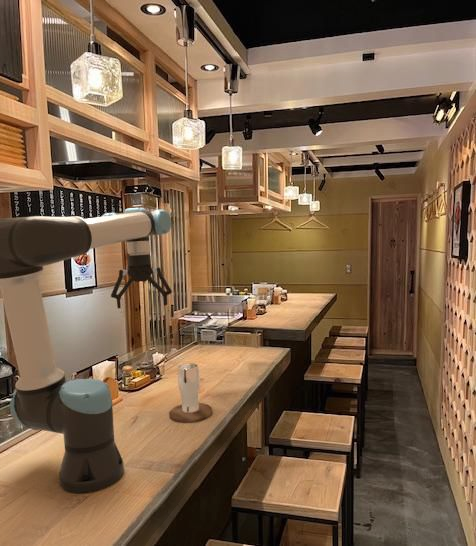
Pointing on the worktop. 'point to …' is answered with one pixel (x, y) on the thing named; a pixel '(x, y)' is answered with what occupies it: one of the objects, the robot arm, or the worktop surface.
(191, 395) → the beer glass
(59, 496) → the worktop surface
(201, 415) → the walnut coaster board
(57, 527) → the worktop surface
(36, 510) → the worktop surface
